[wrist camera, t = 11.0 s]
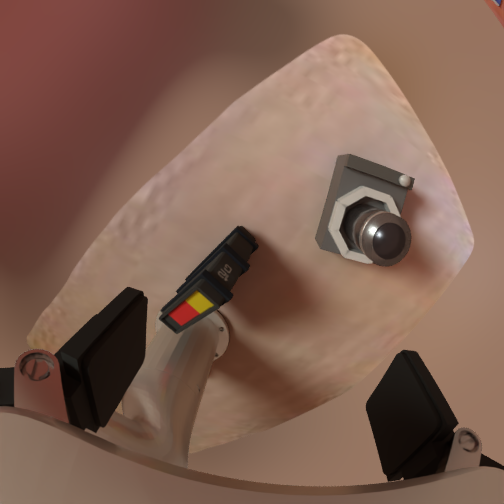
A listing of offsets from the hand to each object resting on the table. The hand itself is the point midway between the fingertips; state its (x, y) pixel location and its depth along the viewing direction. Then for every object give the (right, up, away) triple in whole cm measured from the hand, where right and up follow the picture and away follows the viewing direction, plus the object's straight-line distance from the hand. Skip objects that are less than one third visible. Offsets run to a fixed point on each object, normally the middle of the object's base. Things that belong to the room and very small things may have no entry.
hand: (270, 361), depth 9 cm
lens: (+13, +7, +23) cm, 28 cm away
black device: (-6, +2, +32) cm, 32 cm away
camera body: (+14, +10, +28) cm, 32 cm away
